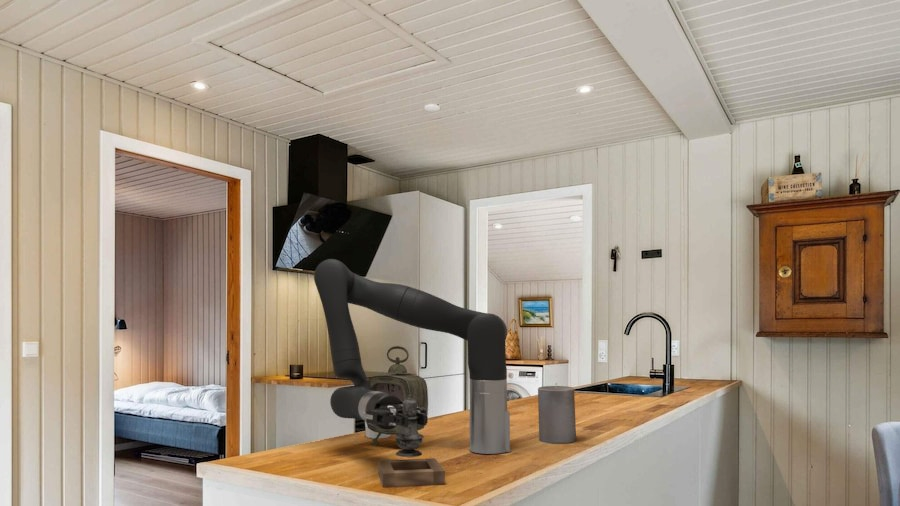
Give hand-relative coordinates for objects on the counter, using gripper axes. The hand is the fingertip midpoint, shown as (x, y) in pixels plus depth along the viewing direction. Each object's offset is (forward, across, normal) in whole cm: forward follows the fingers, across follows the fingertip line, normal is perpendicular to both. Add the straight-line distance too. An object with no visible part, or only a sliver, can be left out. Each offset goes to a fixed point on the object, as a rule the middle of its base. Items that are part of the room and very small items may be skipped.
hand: (415, 420), depth 131 cm
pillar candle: (-20, +52, +12) cm, 57 cm away
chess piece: (-3, 0, +7) cm, 8 cm away
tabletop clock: (-35, +13, +12) cm, 39 cm away
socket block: (-2, 0, +12) cm, 12 cm away
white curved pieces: (-50, +14, +13) cm, 53 cm away
